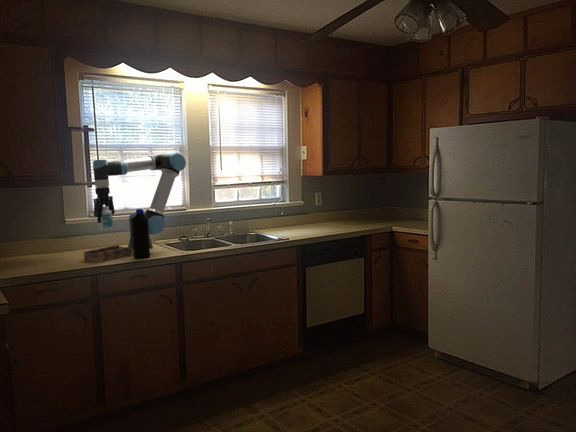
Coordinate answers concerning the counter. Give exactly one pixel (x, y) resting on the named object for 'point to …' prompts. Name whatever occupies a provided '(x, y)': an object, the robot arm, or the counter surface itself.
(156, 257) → the counter surface
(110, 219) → the pill bottle
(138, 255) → the bottle
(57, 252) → the counter surface
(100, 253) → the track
